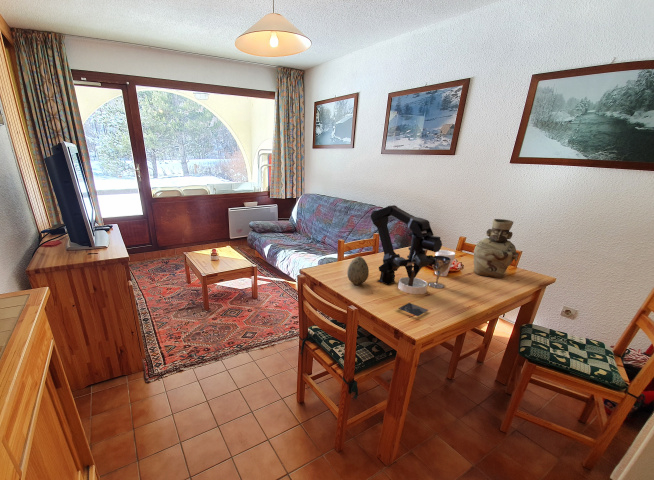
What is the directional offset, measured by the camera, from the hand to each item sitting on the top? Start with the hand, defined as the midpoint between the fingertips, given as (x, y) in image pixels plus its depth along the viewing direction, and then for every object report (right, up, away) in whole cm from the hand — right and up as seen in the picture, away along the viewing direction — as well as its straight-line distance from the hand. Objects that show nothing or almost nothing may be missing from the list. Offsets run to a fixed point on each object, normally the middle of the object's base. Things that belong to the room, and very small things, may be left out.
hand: (411, 277), depth 151 cm
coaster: (-7, -15, -17) cm, 24 cm away
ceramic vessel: (+56, +3, +27) cm, 62 cm away
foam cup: (+27, +2, +25) cm, 37 cm away
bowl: (+1, -7, +3) cm, 8 cm away
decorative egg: (-24, -3, +12) cm, 27 cm away
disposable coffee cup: (+22, +9, +42) cm, 48 cm away
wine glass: (+17, -4, +10) cm, 20 cm away
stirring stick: (0, -6, +2) cm, 6 cm away
